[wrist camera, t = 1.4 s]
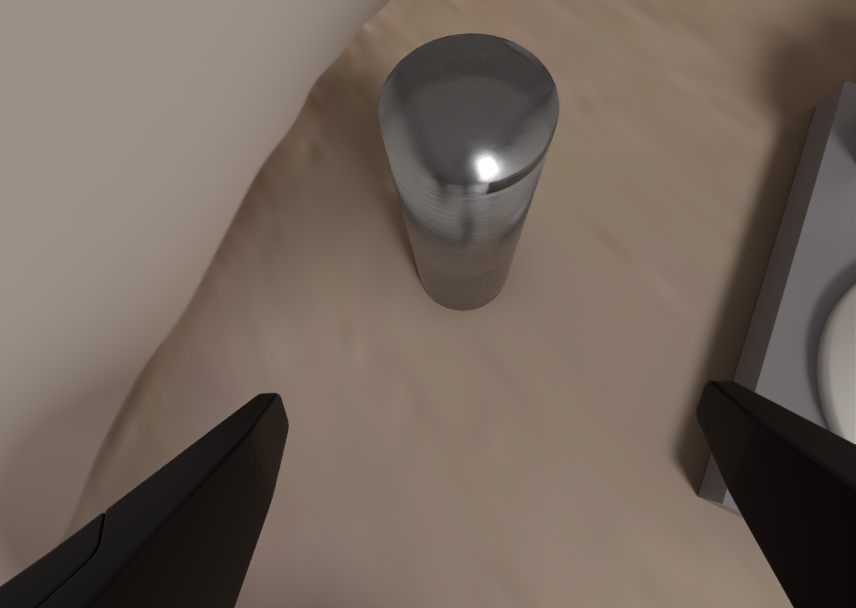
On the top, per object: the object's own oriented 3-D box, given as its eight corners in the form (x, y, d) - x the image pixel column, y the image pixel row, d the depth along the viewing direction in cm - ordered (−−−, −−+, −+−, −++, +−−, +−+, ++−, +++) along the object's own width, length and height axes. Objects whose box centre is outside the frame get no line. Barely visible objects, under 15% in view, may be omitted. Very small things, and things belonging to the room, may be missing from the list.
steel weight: (485, 325, 23) (516, 212, 11) (404, 289, 24) (346, 147, 12) (520, 247, 24) (585, 63, 12) (441, 215, 25) (425, 13, 13)
